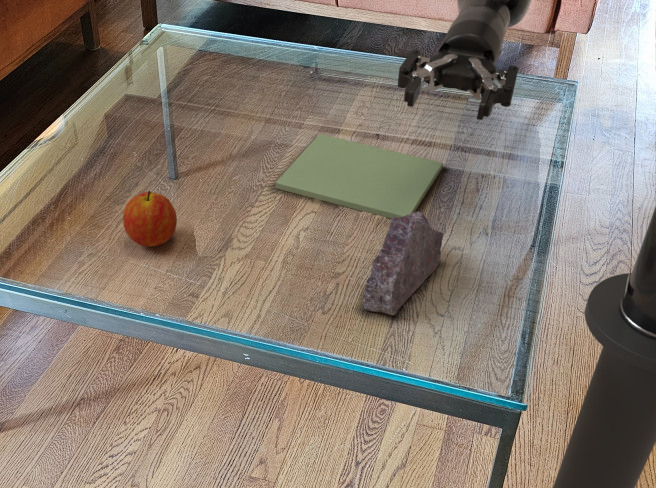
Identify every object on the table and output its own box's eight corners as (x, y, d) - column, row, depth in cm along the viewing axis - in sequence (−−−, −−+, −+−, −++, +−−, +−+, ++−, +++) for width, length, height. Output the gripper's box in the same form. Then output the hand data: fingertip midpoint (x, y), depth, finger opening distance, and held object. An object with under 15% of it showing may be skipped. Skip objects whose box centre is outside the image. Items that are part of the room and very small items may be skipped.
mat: (442, 168, 125) (443, 162, 125) (407, 223, 114) (408, 217, 114) (319, 139, 132) (319, 133, 132) (275, 188, 121) (275, 182, 121)
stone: (415, 177, 104) (358, 233, 94) (461, 194, 102) (407, 253, 92) (400, 244, 111) (346, 303, 101) (443, 262, 109) (391, 324, 99)
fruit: (115, 243, 111) (107, 192, 106) (152, 220, 115) (147, 170, 110) (151, 264, 108) (146, 212, 102) (189, 239, 112) (185, 188, 106)
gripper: (423, 10, 111) (390, 68, 100) (532, 27, 107) (511, 89, 96) (416, 62, 116) (385, 122, 106) (520, 80, 112) (499, 144, 102)
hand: (445, 106), depth 101 cm, fingers open, 8 cm apart
